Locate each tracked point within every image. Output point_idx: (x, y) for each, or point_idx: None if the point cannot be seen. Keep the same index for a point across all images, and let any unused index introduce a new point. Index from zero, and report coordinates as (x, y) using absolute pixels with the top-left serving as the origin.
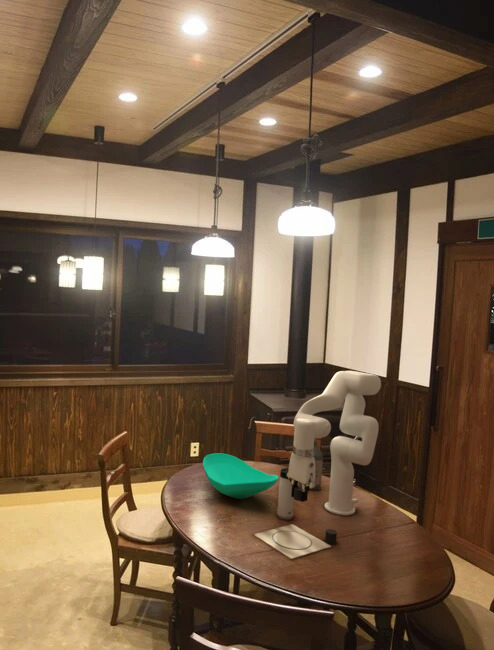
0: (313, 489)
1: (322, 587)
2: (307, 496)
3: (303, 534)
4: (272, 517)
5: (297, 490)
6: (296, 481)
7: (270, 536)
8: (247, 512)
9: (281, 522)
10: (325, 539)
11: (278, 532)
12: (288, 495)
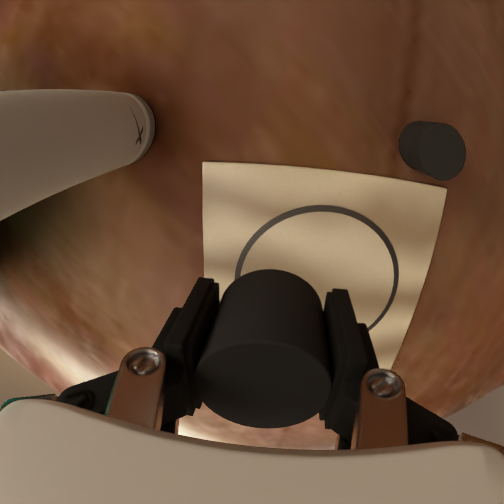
0: None
1: (484, 376)
2: (353, 311)
3: (313, 202)
4: (110, 189)
5: (277, 425)
6: (140, 405)
7: None
8: (57, 247)
9: (161, 187)
10: (412, 167)
11: None
12: (75, 167)
